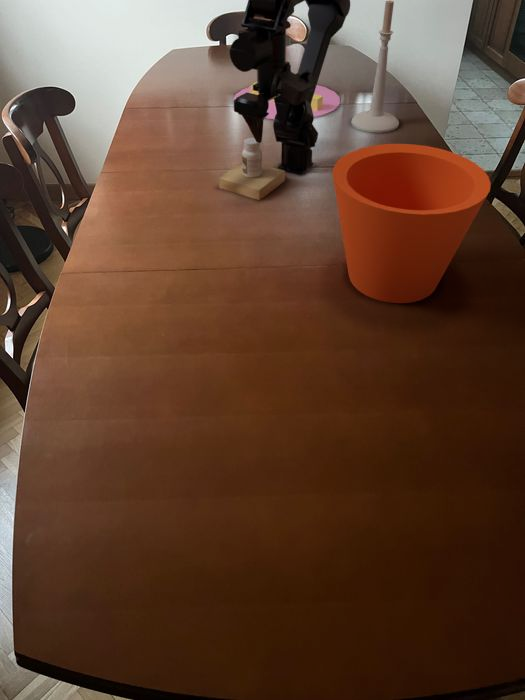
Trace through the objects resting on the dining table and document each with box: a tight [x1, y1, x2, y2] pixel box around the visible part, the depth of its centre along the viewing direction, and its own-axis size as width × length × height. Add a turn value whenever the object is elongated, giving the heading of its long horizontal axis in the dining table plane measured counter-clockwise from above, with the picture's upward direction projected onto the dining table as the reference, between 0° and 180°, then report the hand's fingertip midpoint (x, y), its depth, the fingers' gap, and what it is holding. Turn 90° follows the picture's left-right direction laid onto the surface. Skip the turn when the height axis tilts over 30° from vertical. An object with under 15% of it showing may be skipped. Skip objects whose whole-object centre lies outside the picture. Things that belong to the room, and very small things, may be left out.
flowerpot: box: [332, 143, 492, 304], centre depth 102 cm, size 25×25×20 cm
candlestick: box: [351, 0, 400, 134], centre depth 152 cm, size 13×13×30 cm
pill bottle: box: [241, 137, 263, 178], centre depth 132 cm, size 4×4×8 cm
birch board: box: [218, 162, 286, 201], centre depth 135 cm, size 11×11×2 cm
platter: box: [232, 81, 341, 121], centre depth 175 cm, size 32×32×3 cm
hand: (270, 134), depth 127 cm, fingers open, 9 cm apart
